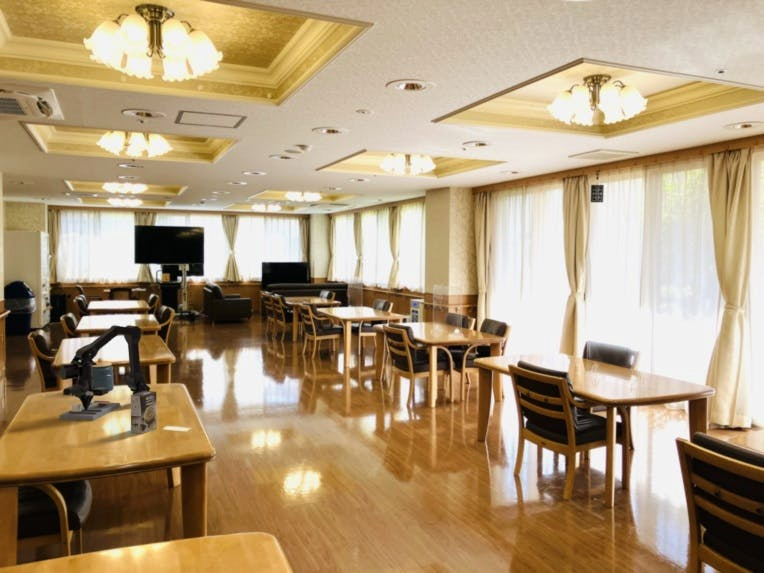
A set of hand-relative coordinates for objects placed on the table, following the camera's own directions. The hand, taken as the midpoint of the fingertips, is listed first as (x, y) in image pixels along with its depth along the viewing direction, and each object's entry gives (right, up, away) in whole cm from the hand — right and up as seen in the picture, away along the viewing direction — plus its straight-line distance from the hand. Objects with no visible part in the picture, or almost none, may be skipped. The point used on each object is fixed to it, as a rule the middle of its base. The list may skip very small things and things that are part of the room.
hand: (86, 409), depth 271 cm
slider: (-4, -1, 0) cm, 5 cm away
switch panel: (-1, -3, +6) cm, 7 cm away
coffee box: (+34, -5, -19) cm, 39 cm away
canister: (-17, 0, +50) cm, 53 cm away
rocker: (+2, +1, +12) cm, 12 cm away
